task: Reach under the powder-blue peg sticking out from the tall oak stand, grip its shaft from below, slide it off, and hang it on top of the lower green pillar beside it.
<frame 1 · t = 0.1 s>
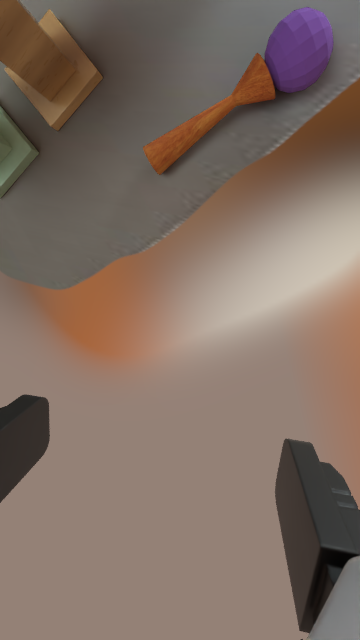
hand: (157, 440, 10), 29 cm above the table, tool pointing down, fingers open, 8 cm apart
kendama: (230, 113, 33), on the table
tall stand: (57, 77, 35), on the table
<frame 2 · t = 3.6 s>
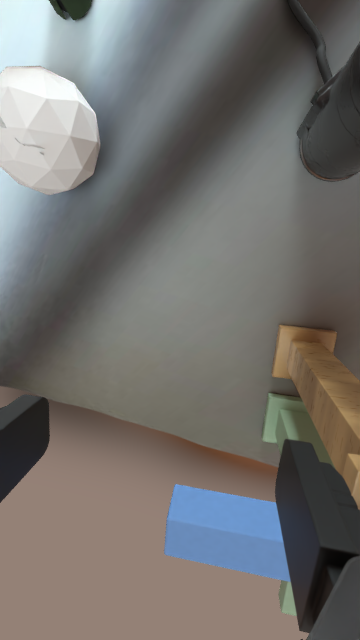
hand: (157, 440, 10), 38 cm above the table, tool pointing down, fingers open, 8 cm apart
geodesic sphere: (71, 152, 45), on the table
tall stand: (301, 352, 47), on the table
green pillar: (289, 418, 49), on the table
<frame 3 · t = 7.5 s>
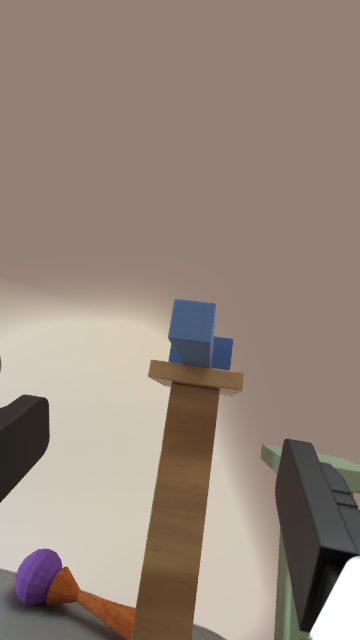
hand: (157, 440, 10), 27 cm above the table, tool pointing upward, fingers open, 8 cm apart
kendama: (76, 621, 39), on the table
peg: (197, 370, 28), point 32 cm above the table, touching tall stand
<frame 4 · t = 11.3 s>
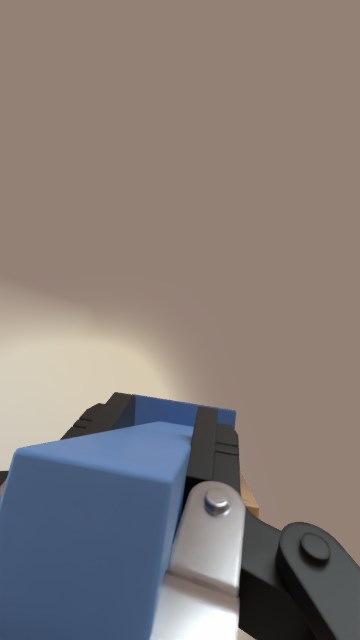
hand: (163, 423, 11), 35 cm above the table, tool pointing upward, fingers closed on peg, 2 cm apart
peg: (171, 473, 15), point 32 cm above the table, touching gripper, tall stand
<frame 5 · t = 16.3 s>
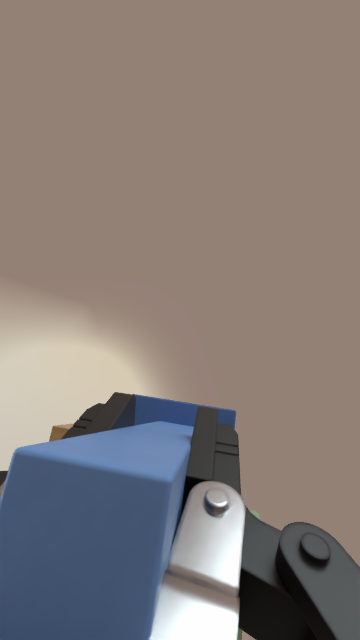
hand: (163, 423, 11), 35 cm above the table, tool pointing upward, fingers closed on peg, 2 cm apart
peg: (171, 473, 15), point 32 cm above the table, touching gripper
when the fingers open (29 cm above the table, at t = 21.6 s): peg stays where it is, resting on green pillar.
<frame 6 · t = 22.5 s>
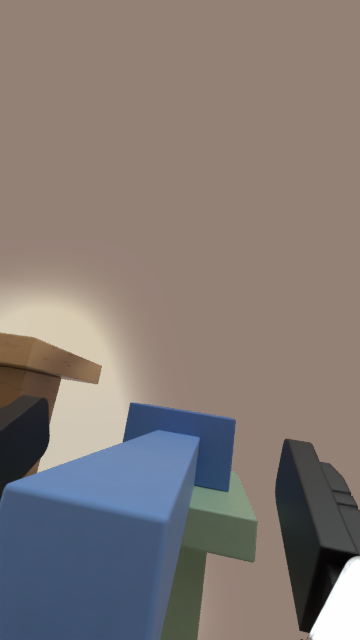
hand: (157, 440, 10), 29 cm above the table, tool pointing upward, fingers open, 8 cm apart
peg: (170, 483, 15), point 26 cm above the table, touching green pillar
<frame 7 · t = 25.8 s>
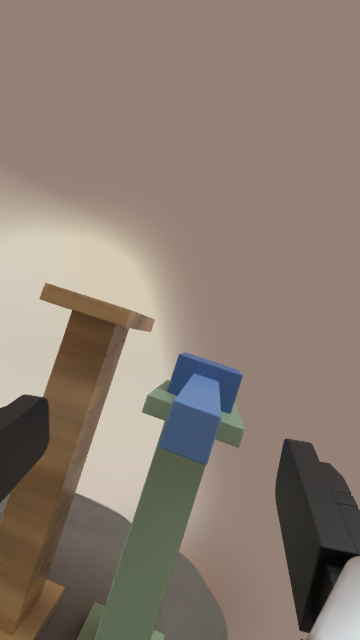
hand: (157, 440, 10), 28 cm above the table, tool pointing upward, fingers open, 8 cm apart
tall stand: (2, 618, 29), on the table
peg: (197, 404, 26), point 26 cm above the table, touching green pillar
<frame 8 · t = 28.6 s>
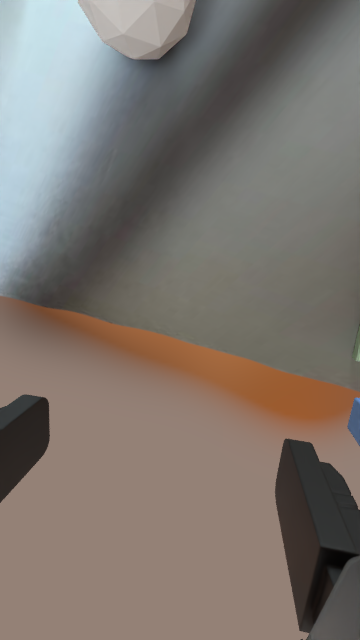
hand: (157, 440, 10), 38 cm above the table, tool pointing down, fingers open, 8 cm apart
geodesic sphere: (152, 22, 40), on the table
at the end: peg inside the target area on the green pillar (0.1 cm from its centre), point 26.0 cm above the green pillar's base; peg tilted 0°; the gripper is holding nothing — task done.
